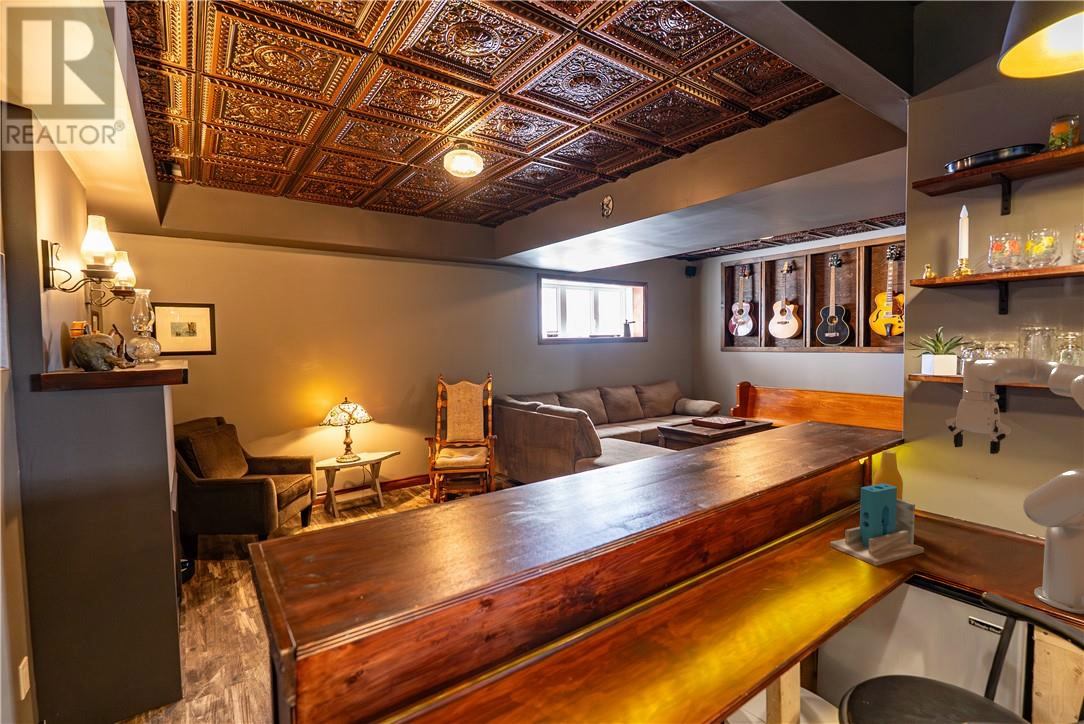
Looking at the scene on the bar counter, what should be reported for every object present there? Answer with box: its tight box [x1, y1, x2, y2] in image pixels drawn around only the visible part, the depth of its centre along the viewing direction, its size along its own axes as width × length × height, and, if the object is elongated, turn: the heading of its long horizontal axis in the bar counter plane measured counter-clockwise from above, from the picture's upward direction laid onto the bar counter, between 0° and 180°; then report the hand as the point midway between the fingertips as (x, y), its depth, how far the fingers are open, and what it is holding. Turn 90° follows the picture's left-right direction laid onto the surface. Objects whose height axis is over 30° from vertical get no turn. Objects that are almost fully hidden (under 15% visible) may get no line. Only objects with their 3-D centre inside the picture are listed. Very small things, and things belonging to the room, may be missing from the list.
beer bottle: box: [872, 450, 904, 500], centre depth 191 cm, size 9×9×29 cm
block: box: [859, 484, 897, 547], centre depth 172 cm, size 12×5×20 cm, turn 112°
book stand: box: [829, 499, 925, 567], centre depth 172 cm, size 16×24×16 cm, turn 112°
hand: (975, 450), depth 161 cm, fingers open, 9 cm apart
